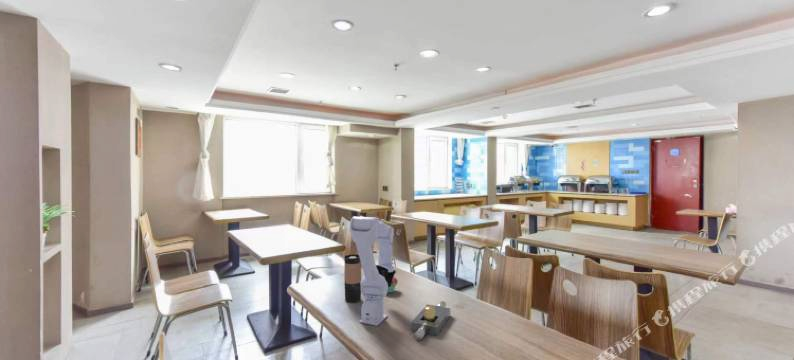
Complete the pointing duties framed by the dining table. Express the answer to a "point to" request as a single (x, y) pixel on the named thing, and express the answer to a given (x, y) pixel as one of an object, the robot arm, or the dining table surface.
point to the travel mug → (352, 278)
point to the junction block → (430, 327)
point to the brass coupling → (429, 314)
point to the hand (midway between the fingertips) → (385, 283)
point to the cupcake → (392, 285)
